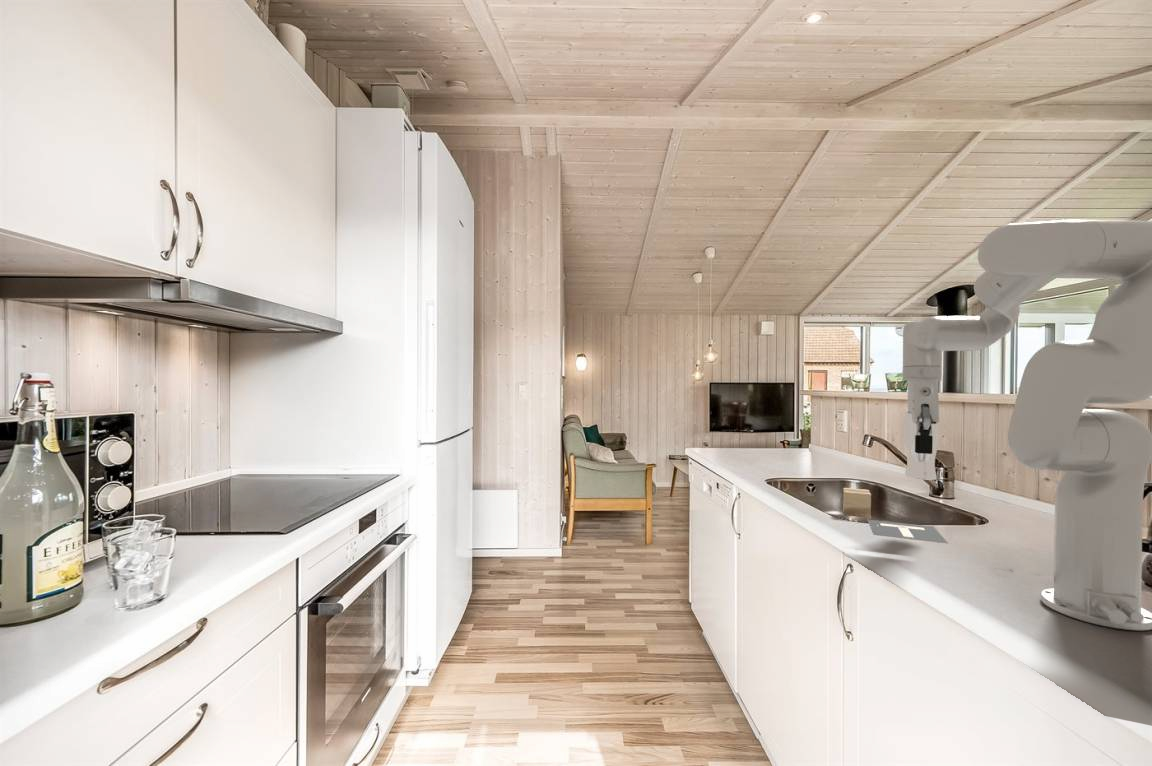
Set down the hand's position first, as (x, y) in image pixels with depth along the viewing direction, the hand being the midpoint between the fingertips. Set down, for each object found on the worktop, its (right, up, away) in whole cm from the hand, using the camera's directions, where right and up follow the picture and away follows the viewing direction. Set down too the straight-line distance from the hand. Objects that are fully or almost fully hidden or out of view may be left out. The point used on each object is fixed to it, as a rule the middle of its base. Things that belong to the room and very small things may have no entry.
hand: (920, 450), depth 118 cm
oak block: (-6, -20, +16) cm, 26 cm away
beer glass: (0, -6, 0) cm, 6 cm away
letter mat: (-3, -20, +1) cm, 20 cm away
